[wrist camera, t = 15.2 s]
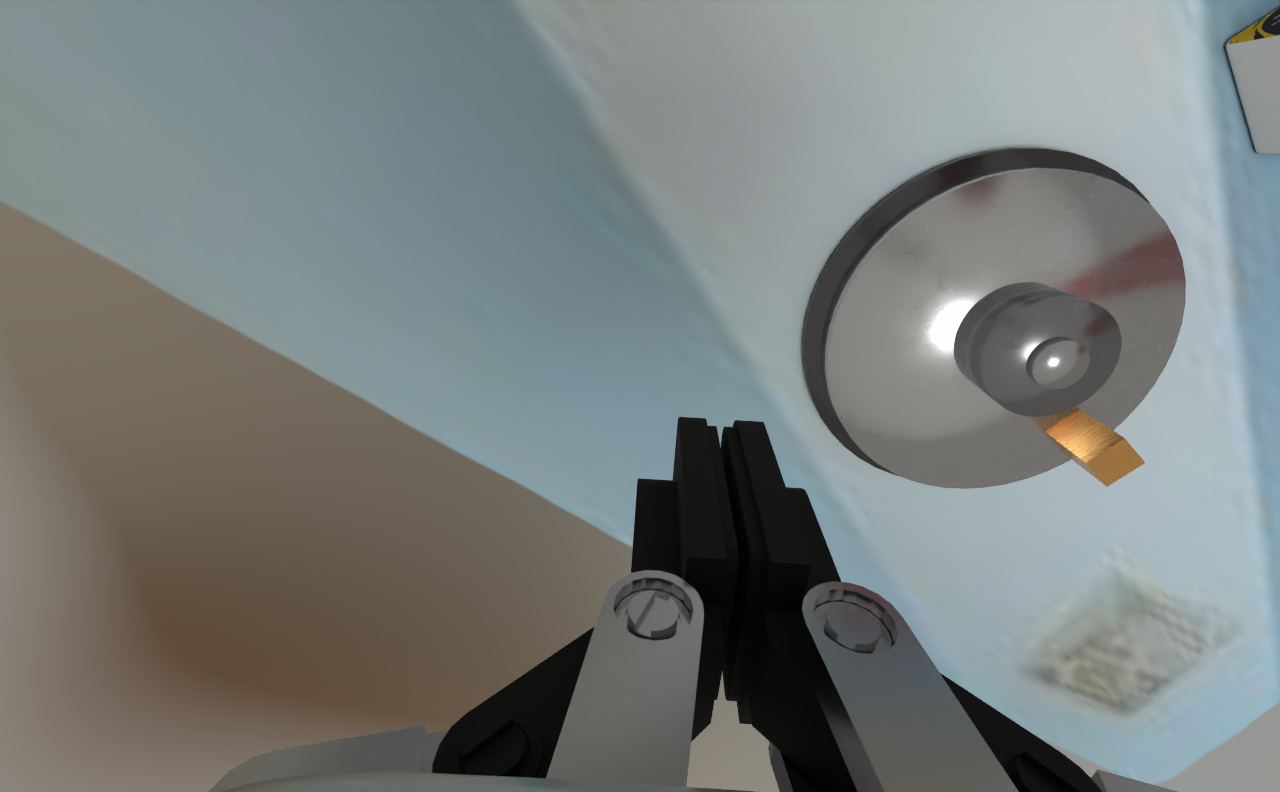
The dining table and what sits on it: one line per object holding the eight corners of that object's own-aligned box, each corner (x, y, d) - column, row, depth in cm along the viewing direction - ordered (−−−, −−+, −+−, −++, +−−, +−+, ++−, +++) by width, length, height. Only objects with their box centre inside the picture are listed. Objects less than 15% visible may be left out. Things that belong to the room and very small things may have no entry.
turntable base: (842, 133, 33) (846, 133, 32) (1230, 163, 33) (1246, 164, 32) (775, 461, 43) (777, 468, 42) (1074, 487, 42) (1083, 494, 41)
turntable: (756, 343, 37) (770, 377, 32) (1040, 81, 30) (1121, 68, 25) (941, 520, 43) (980, 576, 37) (1220, 333, 36) (1320, 367, 30)
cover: (930, 338, 35) (968, 366, 30) (1033, 257, 32) (1090, 275, 28) (993, 409, 36) (1037, 445, 32) (1095, 337, 34) (1157, 365, 30)
